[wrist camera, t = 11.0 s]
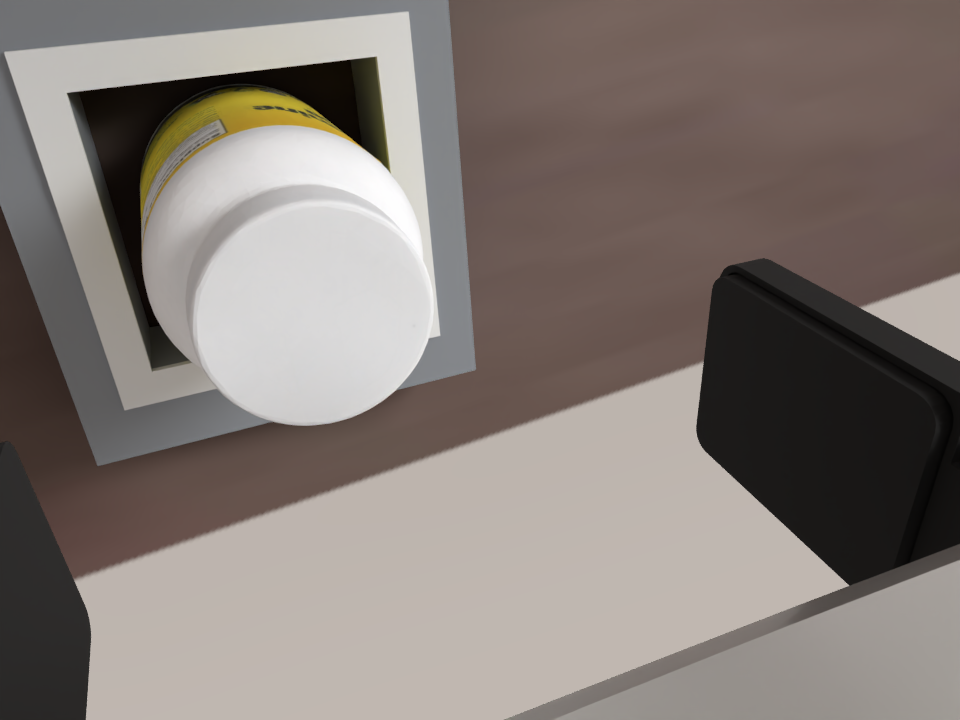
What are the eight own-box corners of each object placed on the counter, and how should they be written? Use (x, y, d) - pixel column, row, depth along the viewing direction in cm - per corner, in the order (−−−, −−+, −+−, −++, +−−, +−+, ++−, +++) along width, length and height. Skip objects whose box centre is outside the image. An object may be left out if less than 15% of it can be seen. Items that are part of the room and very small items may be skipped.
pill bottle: (385, 175, 25) (529, 296, 16) (262, 314, 26) (335, 508, 17) (231, 30, 22) (304, 81, 13) (91, 194, 22) (66, 356, 13)
